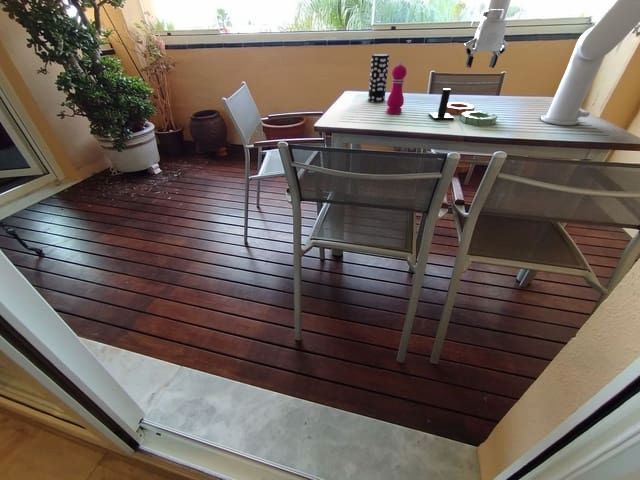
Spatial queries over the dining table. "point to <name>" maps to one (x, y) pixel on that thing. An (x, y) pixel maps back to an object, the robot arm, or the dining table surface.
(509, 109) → the dining table surface
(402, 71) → the pepper mill
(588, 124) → the dining table surface
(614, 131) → the dining table surface
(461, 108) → the ring terracotta
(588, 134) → the dining table surface
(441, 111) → the peg stand
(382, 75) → the white-spotted black cylinder
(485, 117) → the ring green
